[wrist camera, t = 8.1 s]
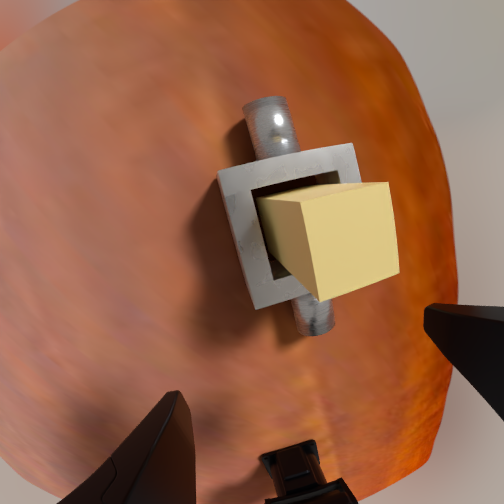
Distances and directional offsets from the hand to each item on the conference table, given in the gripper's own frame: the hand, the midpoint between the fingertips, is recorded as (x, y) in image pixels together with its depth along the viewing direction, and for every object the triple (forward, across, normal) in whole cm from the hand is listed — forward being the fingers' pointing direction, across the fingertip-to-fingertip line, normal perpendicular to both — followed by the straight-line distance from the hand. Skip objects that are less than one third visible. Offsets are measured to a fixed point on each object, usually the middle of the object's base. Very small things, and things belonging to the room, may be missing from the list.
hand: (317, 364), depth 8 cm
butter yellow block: (+13, -3, -3) cm, 13 cm away
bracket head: (+12, -3, -3) cm, 13 cm away
